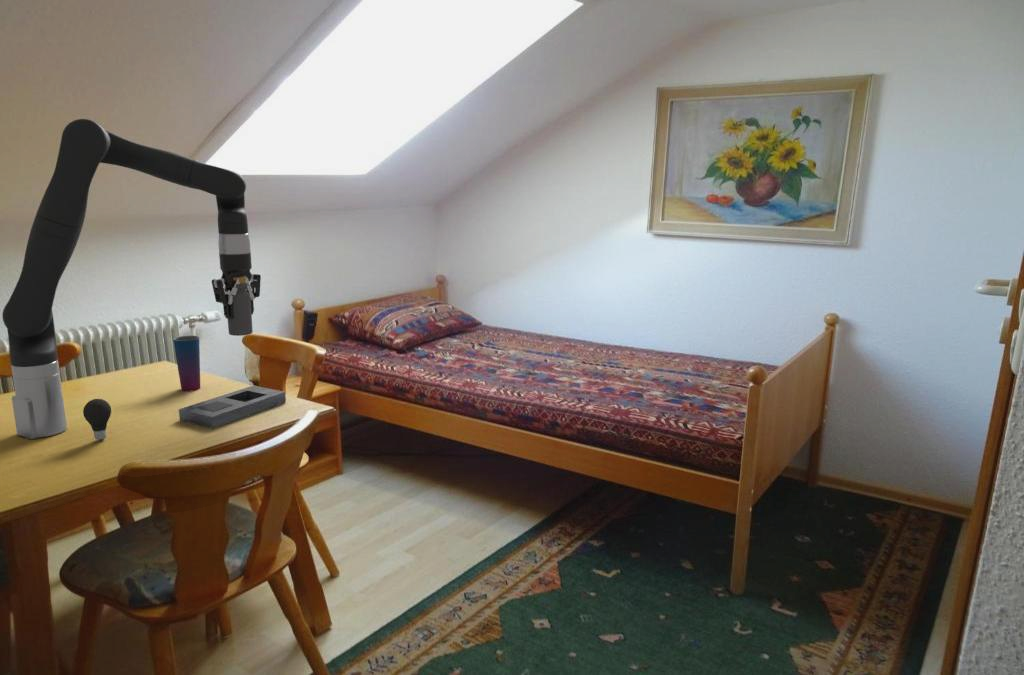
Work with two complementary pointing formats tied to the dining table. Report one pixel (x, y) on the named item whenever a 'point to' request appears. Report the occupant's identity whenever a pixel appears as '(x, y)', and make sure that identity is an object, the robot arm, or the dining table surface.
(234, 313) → the bottle
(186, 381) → the cup
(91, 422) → the light bulb
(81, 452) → the dining table surface
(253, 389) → the panel
